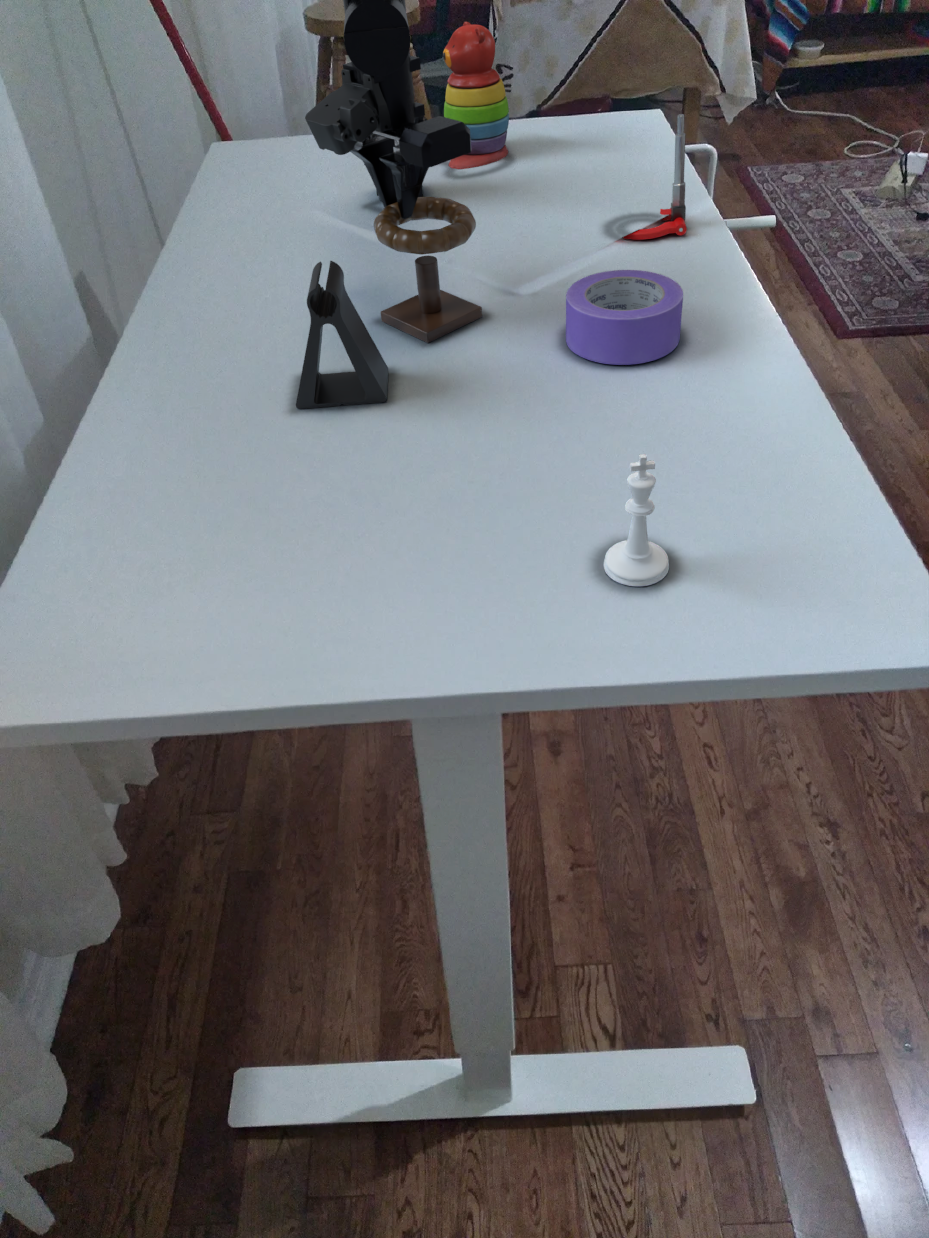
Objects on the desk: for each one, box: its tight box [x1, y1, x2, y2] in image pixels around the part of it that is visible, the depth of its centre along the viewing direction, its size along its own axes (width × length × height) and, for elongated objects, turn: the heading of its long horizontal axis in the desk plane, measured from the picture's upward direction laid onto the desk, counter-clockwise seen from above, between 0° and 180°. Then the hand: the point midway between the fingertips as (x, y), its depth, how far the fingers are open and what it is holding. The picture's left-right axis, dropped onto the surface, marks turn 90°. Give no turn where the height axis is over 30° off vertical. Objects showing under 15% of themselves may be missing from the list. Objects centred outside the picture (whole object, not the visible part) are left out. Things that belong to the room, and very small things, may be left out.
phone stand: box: [295, 260, 389, 410], centre depth 93 cm, size 9×6×12 cm, turn 91°
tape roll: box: [565, 269, 684, 366], centre depth 99 cm, size 12×12×5 cm
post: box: [380, 255, 483, 344], centre depth 105 cm, size 8×8×7 cm
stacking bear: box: [442, 21, 510, 170], centre depth 138 cm, size 11×10×18 cm
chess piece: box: [603, 453, 670, 587], centre depth 71 cm, size 5×5×10 cm
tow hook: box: [621, 113, 688, 241], centre depth 117 cm, size 8×13×9 cm
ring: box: [373, 196, 477, 255], centre depth 100 cm, size 10×10×2 cm
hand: (399, 215), depth 103 cm, fingers closed on ring, 2 cm apart
